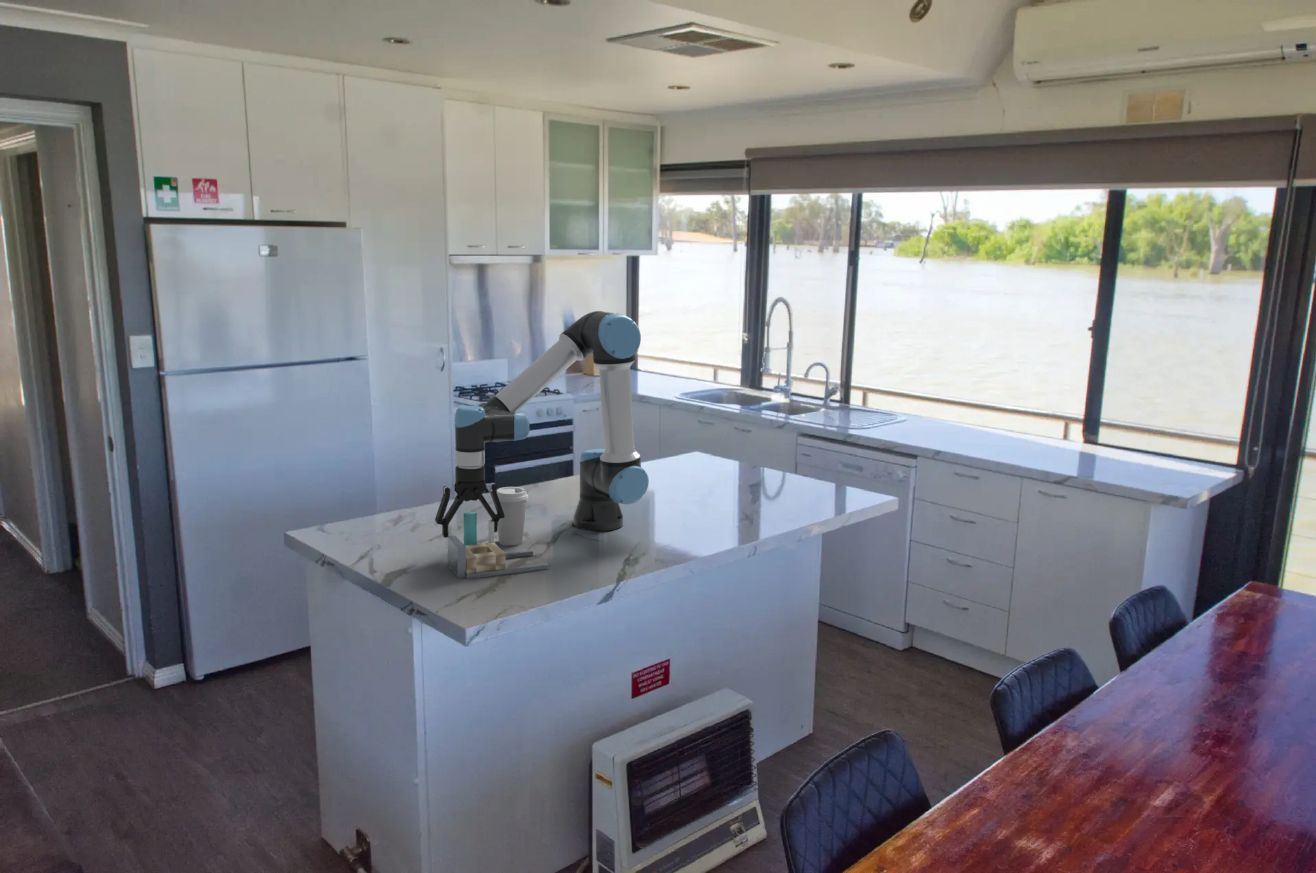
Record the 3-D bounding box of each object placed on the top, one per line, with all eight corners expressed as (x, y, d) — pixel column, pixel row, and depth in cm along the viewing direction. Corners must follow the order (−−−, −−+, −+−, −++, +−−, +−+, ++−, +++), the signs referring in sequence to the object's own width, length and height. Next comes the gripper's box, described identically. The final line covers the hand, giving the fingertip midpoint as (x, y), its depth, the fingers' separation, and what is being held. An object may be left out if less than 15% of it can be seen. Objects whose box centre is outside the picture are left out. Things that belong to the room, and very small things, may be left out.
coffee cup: (521, 548, 256) (521, 496, 253) (488, 545, 257) (488, 493, 254) (532, 538, 265) (533, 487, 262) (500, 535, 267) (501, 485, 264)
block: (494, 560, 245) (494, 542, 244) (505, 572, 236) (505, 553, 235) (456, 564, 240) (456, 546, 239) (466, 577, 232) (466, 558, 231)
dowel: (474, 554, 249) (474, 511, 247) (478, 558, 246) (478, 514, 244) (462, 556, 248) (462, 512, 245) (465, 559, 245) (465, 516, 242)
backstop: (532, 554, 251) (532, 526, 249) (547, 569, 240) (548, 539, 238) (446, 564, 240) (446, 535, 239) (459, 580, 230) (458, 549, 228)
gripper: (508, 459, 251) (508, 537, 255) (422, 465, 240) (423, 546, 245) (517, 465, 244) (516, 545, 248) (428, 471, 234) (429, 555, 238)
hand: (470, 546), depth 246 cm, fingers open, 11 cm apart
